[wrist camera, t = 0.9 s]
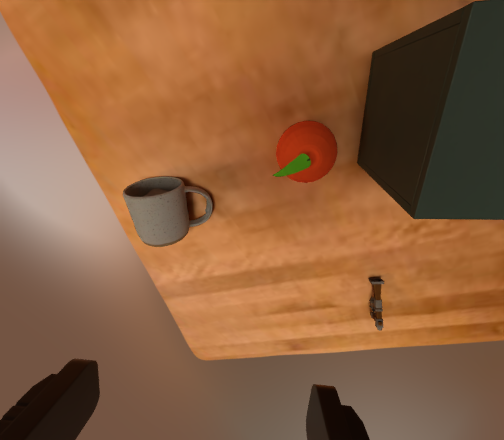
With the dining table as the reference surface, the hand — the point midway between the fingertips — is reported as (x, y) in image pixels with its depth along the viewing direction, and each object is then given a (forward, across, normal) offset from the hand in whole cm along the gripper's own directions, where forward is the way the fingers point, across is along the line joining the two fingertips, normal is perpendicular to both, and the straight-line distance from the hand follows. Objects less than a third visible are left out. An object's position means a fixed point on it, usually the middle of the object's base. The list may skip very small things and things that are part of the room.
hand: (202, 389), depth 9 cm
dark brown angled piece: (+30, -22, +11) cm, 39 cm away
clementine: (+26, -6, -10) cm, 29 cm away
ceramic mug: (+30, +10, -2) cm, 31 cm away
